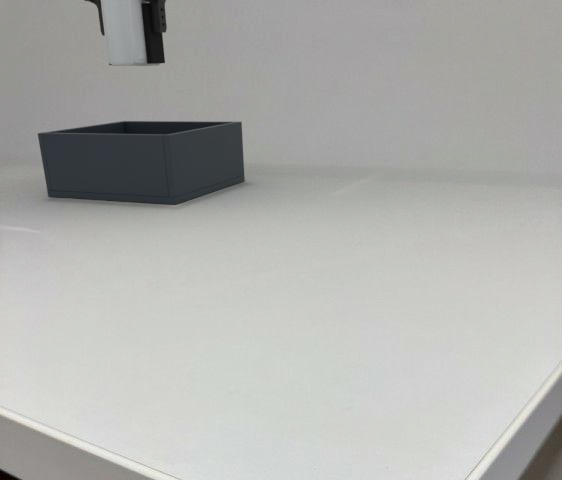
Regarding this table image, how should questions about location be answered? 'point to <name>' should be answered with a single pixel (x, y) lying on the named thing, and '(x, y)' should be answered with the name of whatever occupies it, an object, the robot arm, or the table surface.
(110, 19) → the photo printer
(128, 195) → the bin
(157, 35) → the robot arm
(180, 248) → the table surface
